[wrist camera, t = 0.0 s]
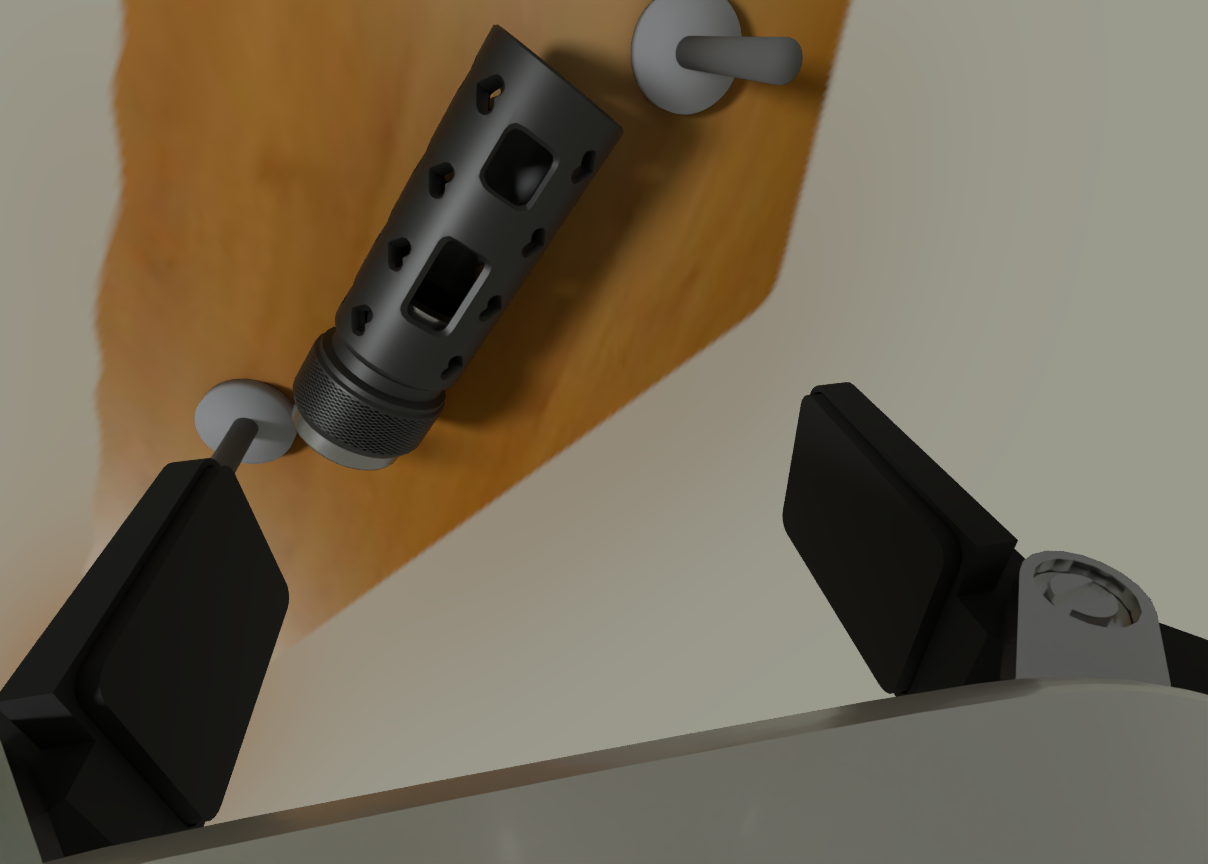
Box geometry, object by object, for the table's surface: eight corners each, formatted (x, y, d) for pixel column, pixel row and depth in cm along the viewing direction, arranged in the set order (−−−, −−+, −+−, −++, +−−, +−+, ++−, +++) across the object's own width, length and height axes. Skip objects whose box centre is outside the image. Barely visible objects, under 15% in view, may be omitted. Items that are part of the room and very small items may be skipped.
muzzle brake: (610, 121, 41) (644, 144, 33) (414, 420, 51) (400, 497, 43) (488, 20, 37) (491, 16, 29) (300, 367, 47) (261, 440, 39)
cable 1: (181, 414, 48) (67, 560, 34) (241, 362, 46) (145, 493, 33) (260, 467, 51) (183, 617, 38) (318, 420, 50) (259, 559, 37)
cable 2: (609, 38, 39) (676, 40, 25) (700, -43, 37) (821, -84, 24) (667, 134, 42) (751, 180, 29) (752, 65, 41) (881, 80, 28)
